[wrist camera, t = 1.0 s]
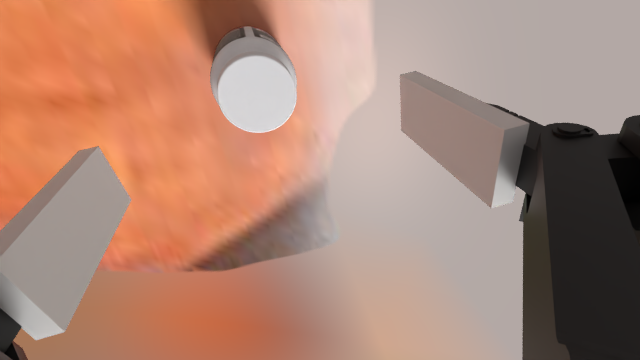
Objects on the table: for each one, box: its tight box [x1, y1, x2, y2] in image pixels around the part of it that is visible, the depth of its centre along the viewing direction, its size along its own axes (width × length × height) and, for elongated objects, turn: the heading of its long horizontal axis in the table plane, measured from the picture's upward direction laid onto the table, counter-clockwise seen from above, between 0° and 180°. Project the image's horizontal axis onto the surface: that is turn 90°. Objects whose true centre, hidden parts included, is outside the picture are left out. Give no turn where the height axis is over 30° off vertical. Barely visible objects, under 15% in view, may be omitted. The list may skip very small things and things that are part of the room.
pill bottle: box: [210, 26, 297, 133], centre depth 23 cm, size 6×6×10 cm
